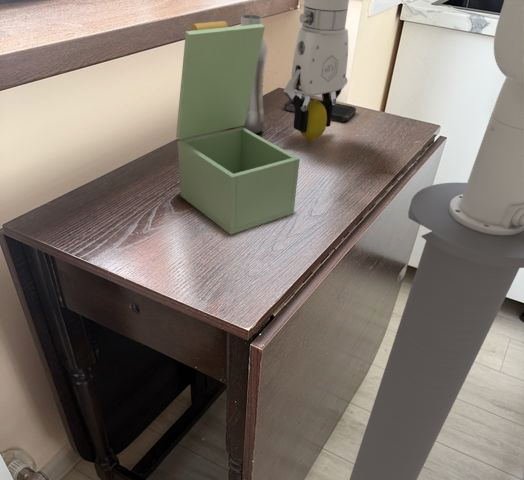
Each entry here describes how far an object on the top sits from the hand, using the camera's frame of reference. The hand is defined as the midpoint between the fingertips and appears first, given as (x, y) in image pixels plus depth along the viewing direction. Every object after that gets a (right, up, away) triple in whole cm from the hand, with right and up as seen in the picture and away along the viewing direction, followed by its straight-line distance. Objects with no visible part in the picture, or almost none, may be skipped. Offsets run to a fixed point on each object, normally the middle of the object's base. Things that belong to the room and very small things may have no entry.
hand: (311, 126), depth 100 cm
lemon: (0, -2, +2) cm, 3 cm away
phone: (+3, +10, +15) cm, 19 cm away
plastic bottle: (-13, 0, +4) cm, 13 cm away
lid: (-16, -6, -27) cm, 32 cm away
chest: (-14, -21, -19) cm, 31 cm away
